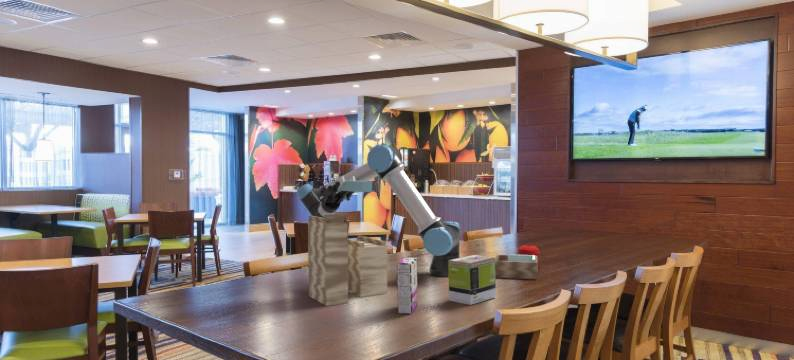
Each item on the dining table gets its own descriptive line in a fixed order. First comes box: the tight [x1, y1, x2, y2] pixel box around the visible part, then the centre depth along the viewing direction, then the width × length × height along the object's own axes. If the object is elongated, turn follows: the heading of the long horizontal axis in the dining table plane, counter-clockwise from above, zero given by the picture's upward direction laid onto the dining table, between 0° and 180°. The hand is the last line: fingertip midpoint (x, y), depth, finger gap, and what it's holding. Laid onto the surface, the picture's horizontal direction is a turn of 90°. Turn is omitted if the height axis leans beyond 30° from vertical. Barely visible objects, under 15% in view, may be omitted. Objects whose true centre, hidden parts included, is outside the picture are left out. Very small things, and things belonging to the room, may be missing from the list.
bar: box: [333, 179, 373, 193], centre depth 213 cm, size 27×4×4 cm, turn 30°
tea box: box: [448, 254, 497, 306], centre depth 190 cm, size 15×10×15 cm, turn 134°
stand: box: [307, 213, 349, 307], centre depth 191 cm, size 17×8×31 cm, turn 30°
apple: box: [517, 243, 541, 260], centre depth 253 cm, size 10×10×11 cm
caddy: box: [494, 254, 539, 280], centre depth 235 cm, size 18×18×7 cm
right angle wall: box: [507, 254, 535, 262], centre depth 237 cm, size 12×12×8 cm
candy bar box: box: [396, 257, 418, 315], centre depth 177 cm, size 11×5×16 cm, turn 168°
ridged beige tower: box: [348, 234, 388, 298], centre depth 207 cm, size 22×11×20 cm, turn 30°
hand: (348, 179), depth 215 cm, fingers closed on bar, 4 cm apart
